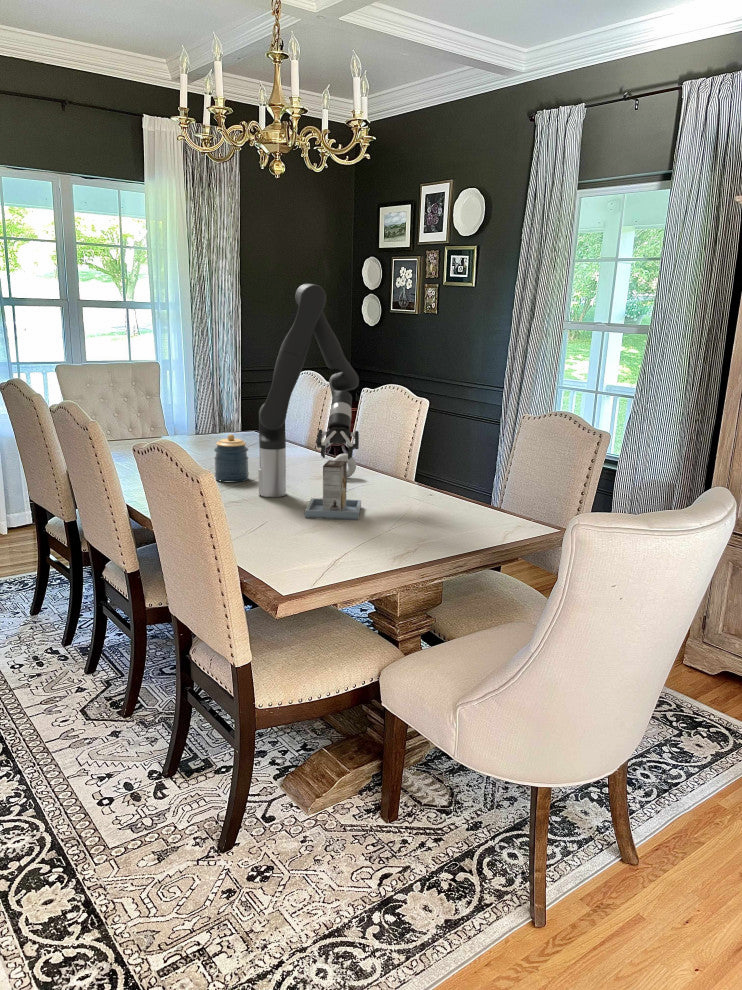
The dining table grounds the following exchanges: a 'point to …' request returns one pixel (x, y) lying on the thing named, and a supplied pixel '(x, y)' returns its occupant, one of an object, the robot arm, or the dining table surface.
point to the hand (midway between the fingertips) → (336, 457)
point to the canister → (231, 460)
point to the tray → (317, 511)
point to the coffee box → (334, 485)
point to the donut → (350, 462)
